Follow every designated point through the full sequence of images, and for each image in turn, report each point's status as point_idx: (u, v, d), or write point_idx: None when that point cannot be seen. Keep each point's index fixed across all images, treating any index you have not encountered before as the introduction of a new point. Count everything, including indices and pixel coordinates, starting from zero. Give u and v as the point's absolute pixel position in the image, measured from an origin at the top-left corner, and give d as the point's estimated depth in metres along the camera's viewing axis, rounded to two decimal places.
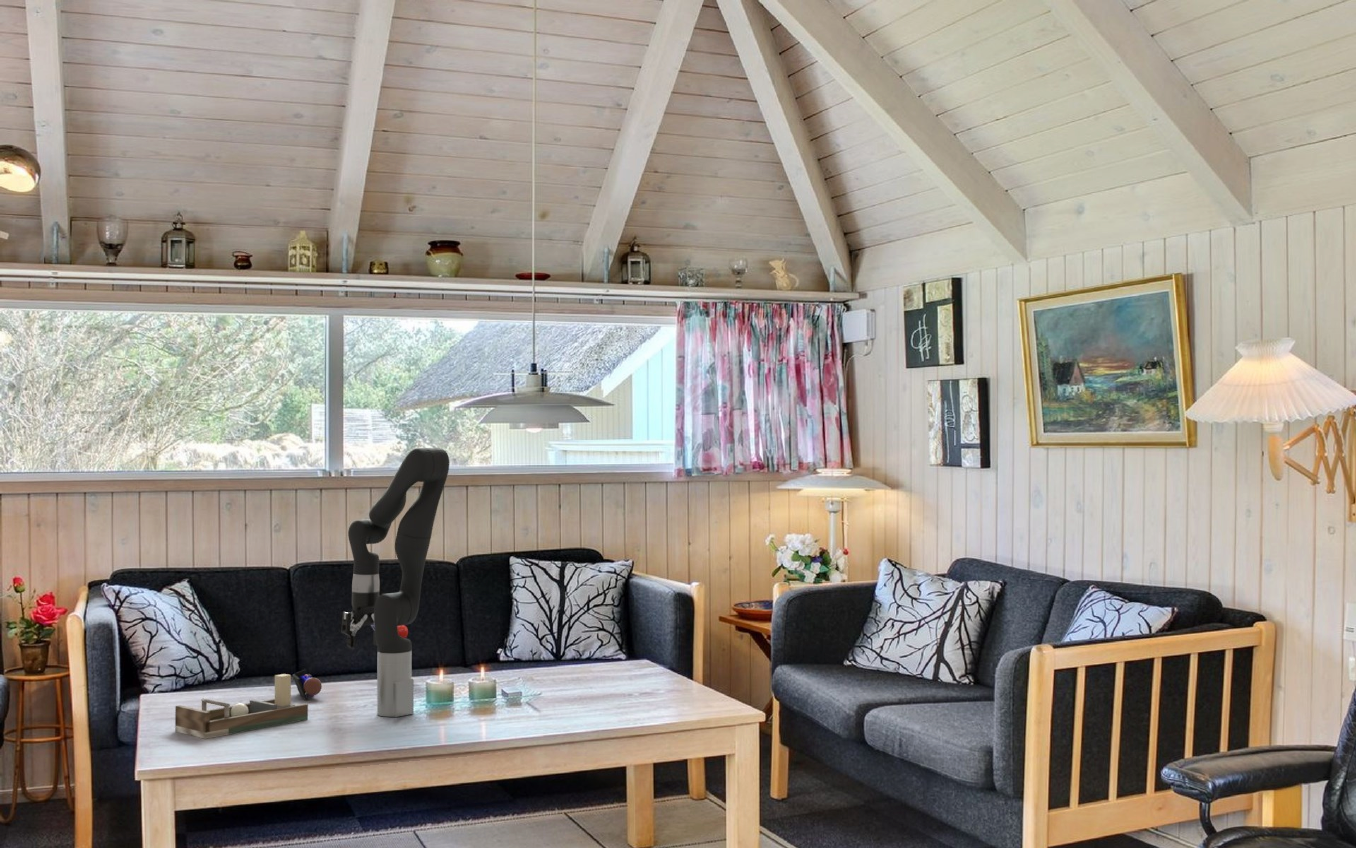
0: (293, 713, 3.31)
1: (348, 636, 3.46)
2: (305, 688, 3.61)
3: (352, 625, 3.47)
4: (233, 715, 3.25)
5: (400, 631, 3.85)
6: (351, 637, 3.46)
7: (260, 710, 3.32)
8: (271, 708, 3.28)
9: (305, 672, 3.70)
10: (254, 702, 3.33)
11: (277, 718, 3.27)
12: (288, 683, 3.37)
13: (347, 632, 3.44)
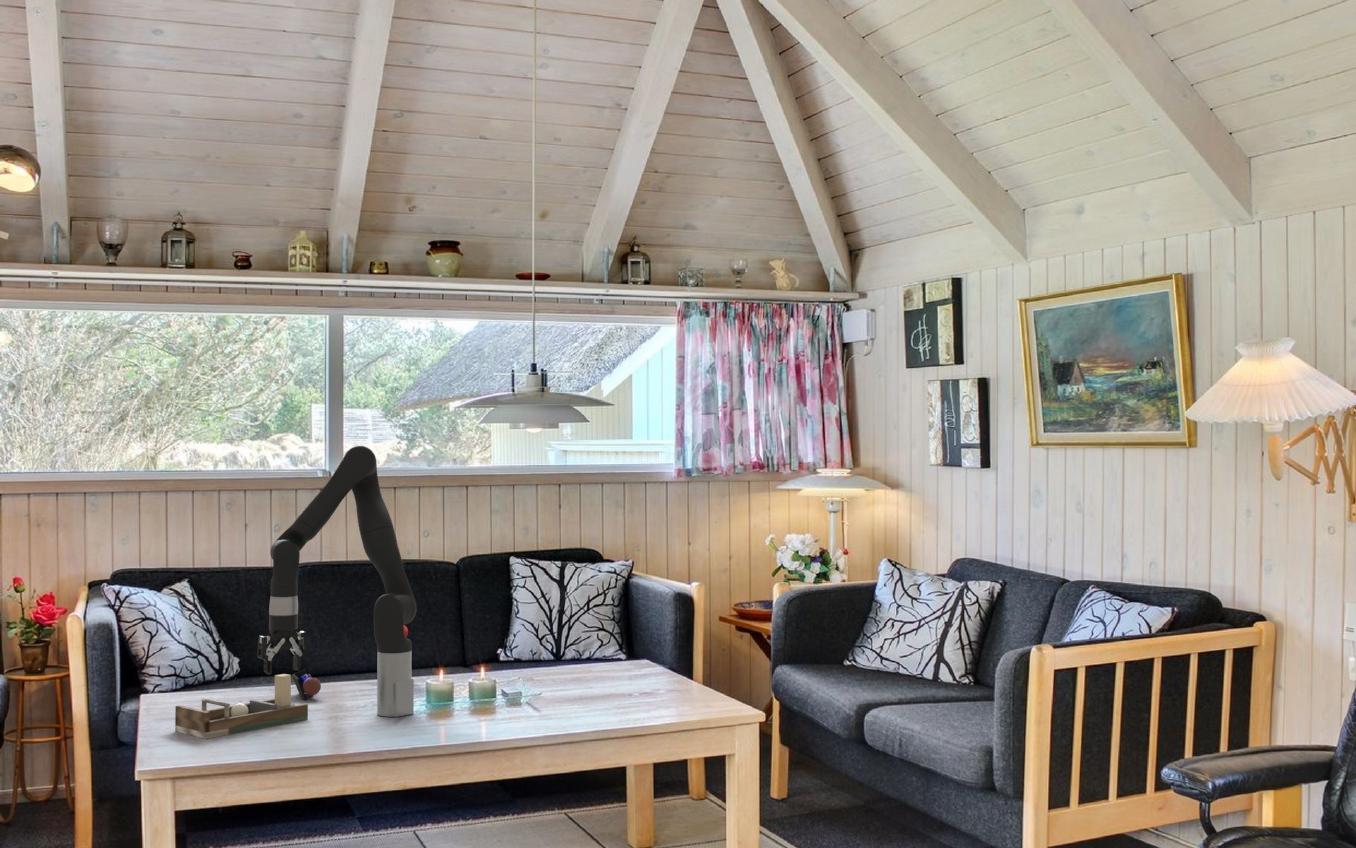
0: (293, 713, 3.31)
1: (264, 661, 3.33)
2: (304, 688, 3.61)
3: (269, 649, 3.35)
4: (233, 715, 3.25)
5: None
6: (267, 662, 3.33)
7: (260, 710, 3.32)
8: (271, 708, 3.28)
9: (305, 672, 3.71)
10: (254, 702, 3.33)
11: (277, 718, 3.27)
12: (288, 683, 3.37)
13: (263, 657, 3.32)
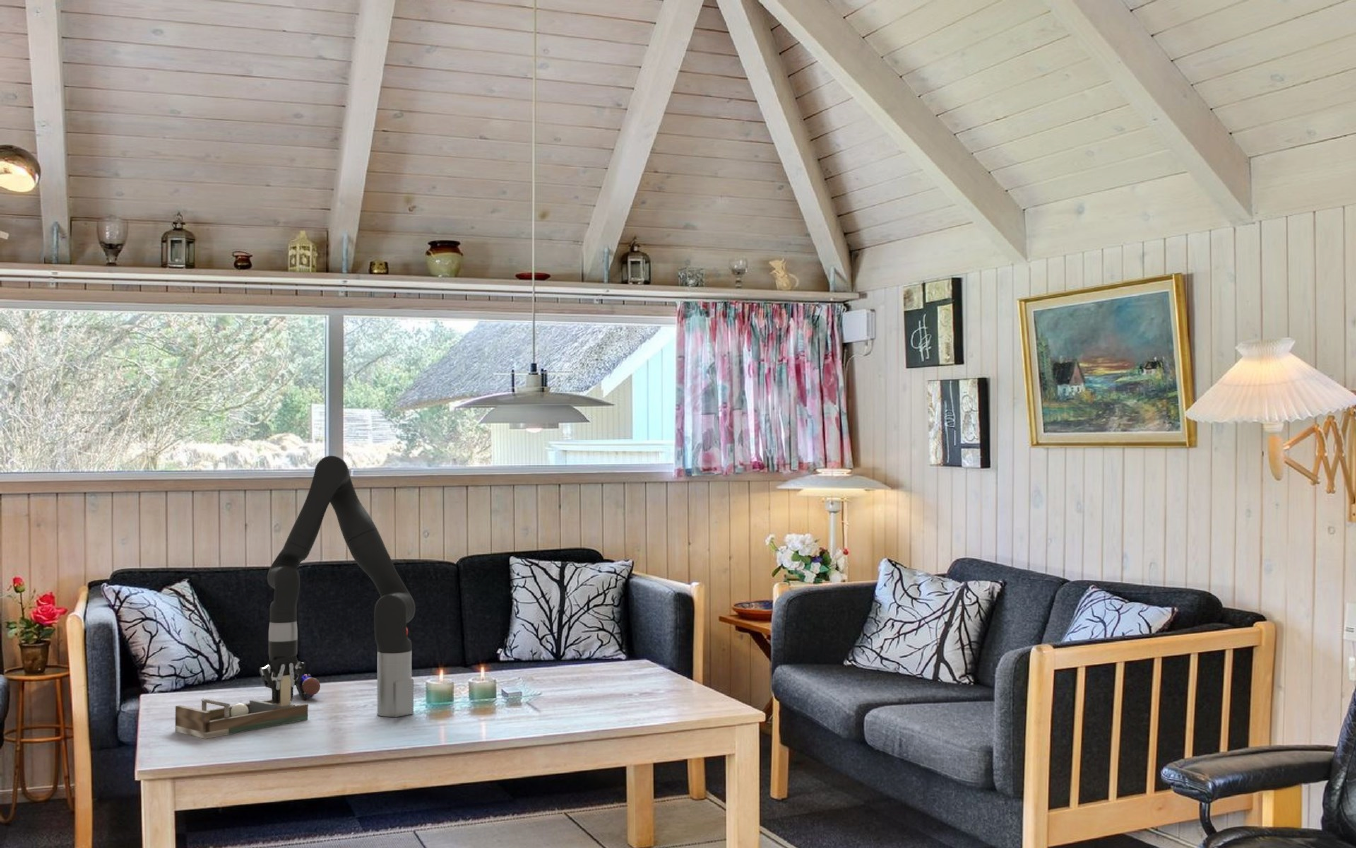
0: (293, 713, 3.31)
1: (272, 690, 3.35)
2: (303, 688, 3.61)
3: (273, 678, 3.35)
4: (233, 715, 3.25)
5: None
6: (276, 691, 3.34)
7: (260, 710, 3.32)
8: (271, 708, 3.28)
9: (304, 672, 3.71)
10: (254, 702, 3.33)
11: (277, 718, 3.27)
12: (288, 683, 3.36)
13: (271, 686, 3.33)
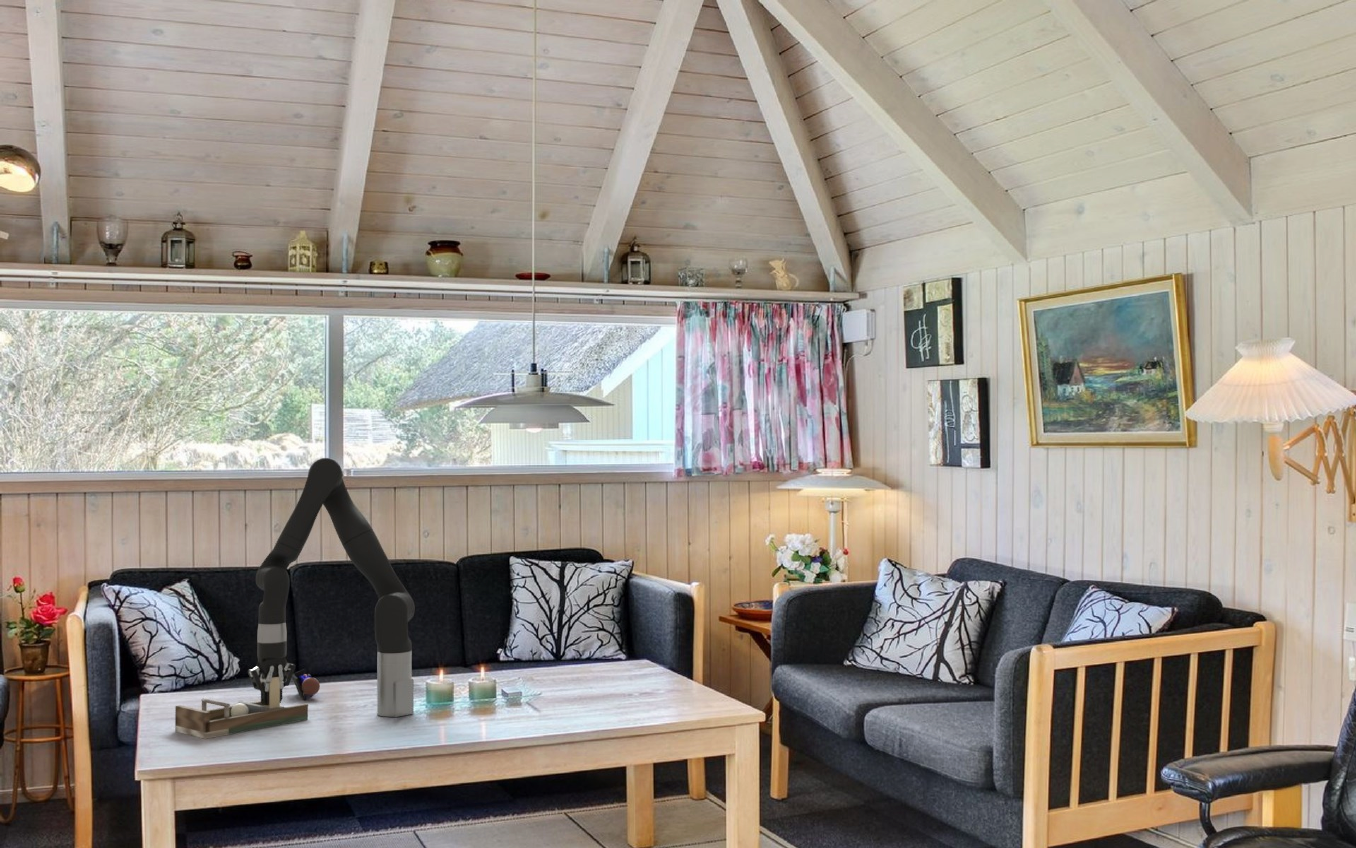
0: (293, 713, 3.31)
1: (261, 692, 3.32)
2: (303, 688, 3.61)
3: (262, 680, 3.32)
4: (233, 715, 3.25)
5: None
6: (264, 693, 3.32)
7: (249, 712, 3.29)
8: (260, 710, 3.26)
9: (304, 672, 3.71)
10: None
11: (277, 718, 3.27)
12: (277, 684, 3.34)
13: (260, 688, 3.30)
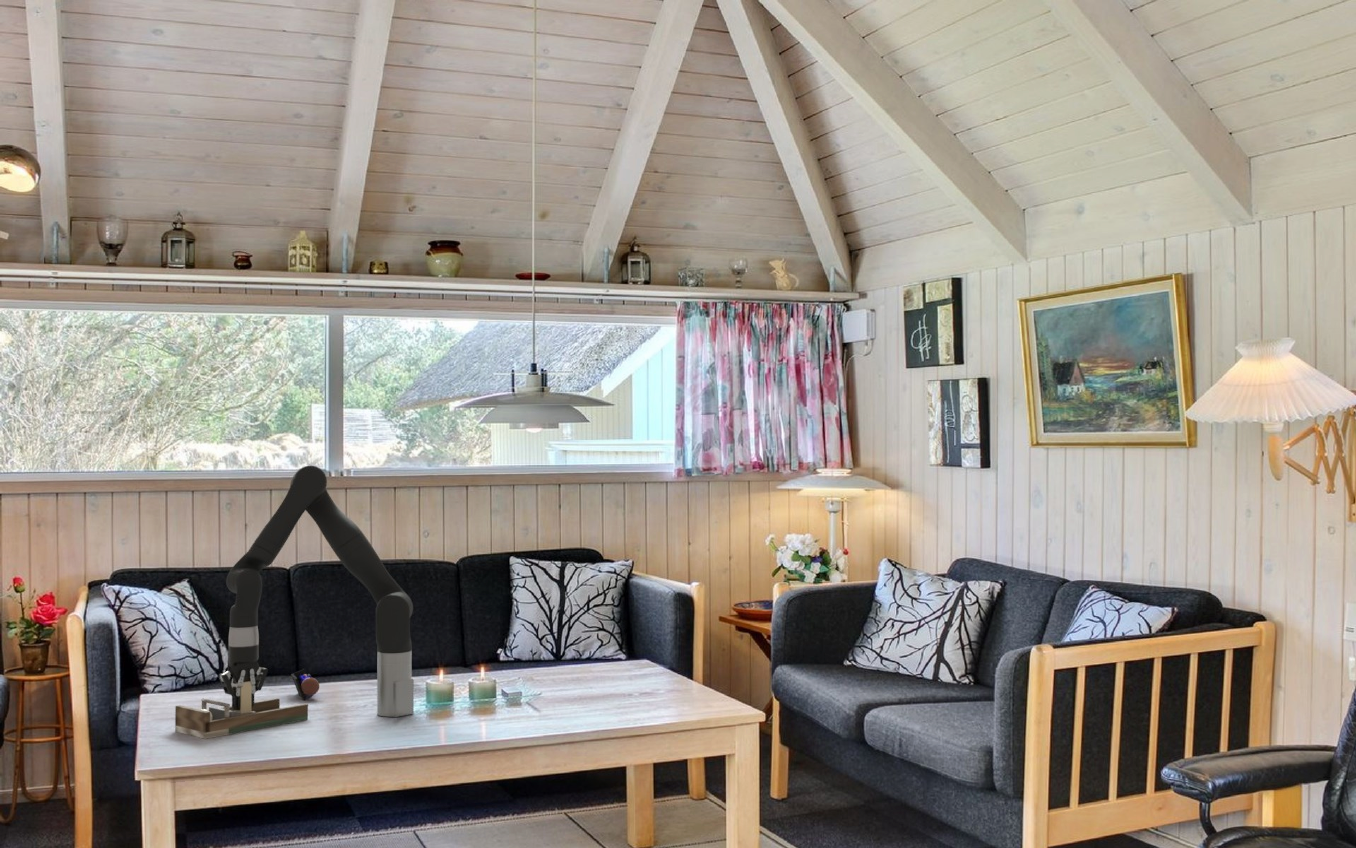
0: (293, 713, 3.31)
1: (233, 697, 3.25)
2: (302, 688, 3.61)
3: (234, 685, 3.26)
4: None
5: None
6: (236, 698, 3.25)
7: (219, 717, 3.22)
8: (230, 715, 3.19)
9: (304, 672, 3.71)
10: (213, 709, 3.24)
11: (277, 718, 3.27)
12: (249, 689, 3.27)
13: (231, 693, 3.23)
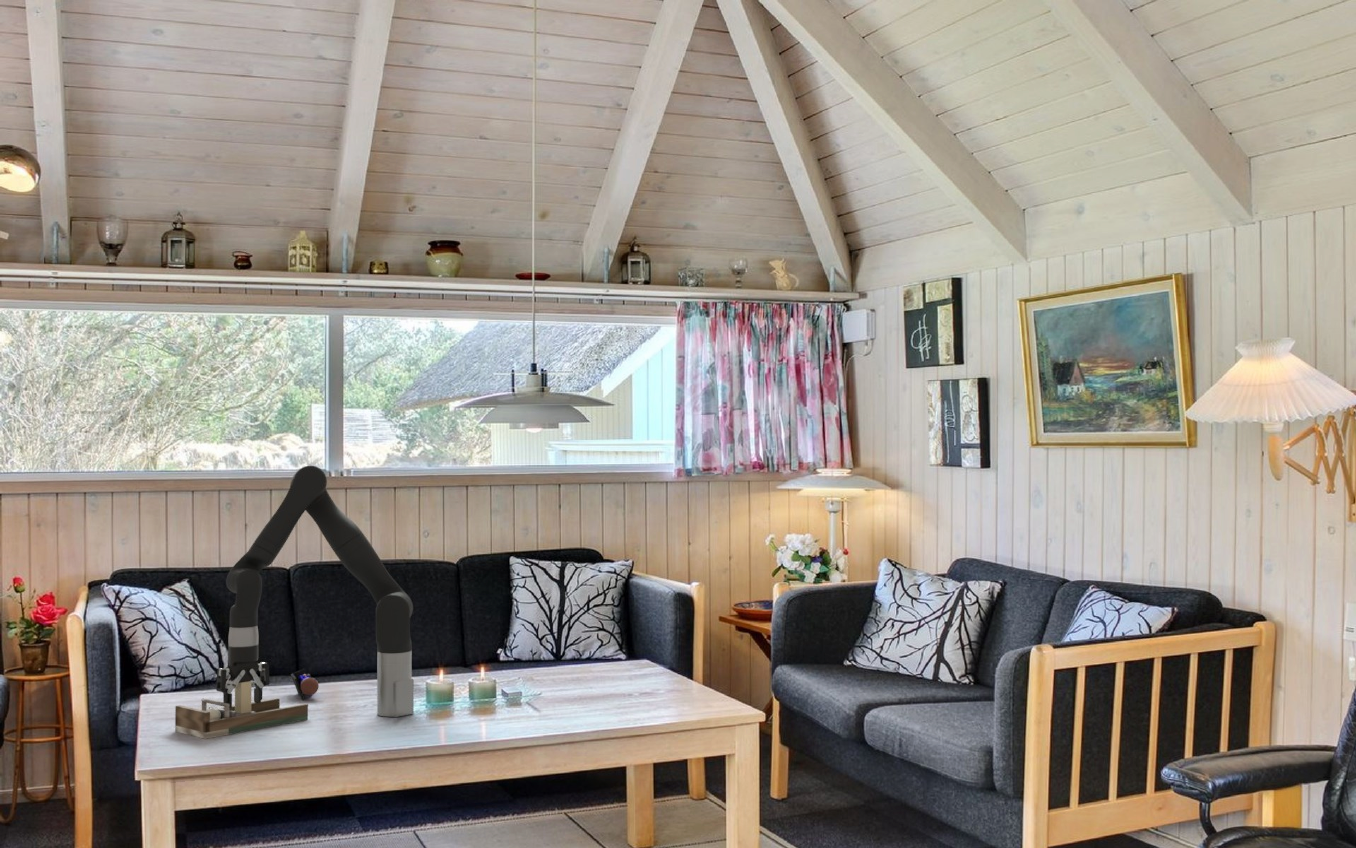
0: (293, 713, 3.31)
1: (224, 694, 3.23)
2: (302, 688, 3.61)
3: (228, 682, 3.25)
4: (218, 710, 3.21)
5: None
6: (227, 695, 3.23)
7: None
8: (230, 715, 3.19)
9: (304, 672, 3.71)
10: None
11: (277, 718, 3.27)
12: (249, 689, 3.27)
13: (222, 690, 3.21)
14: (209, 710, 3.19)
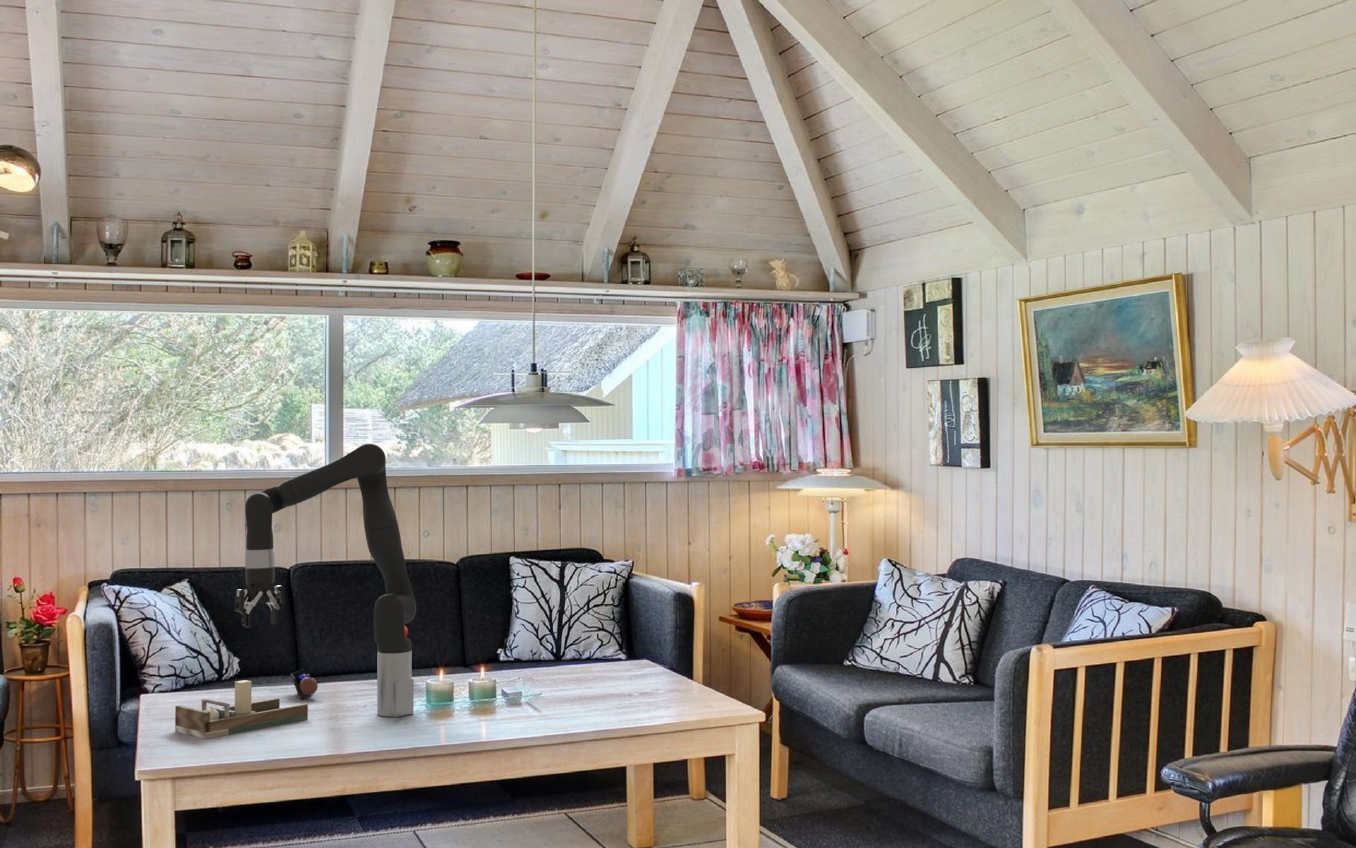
0: (293, 713, 3.31)
1: (242, 614, 3.32)
2: (301, 688, 3.62)
3: (246, 603, 3.34)
4: (215, 709, 3.21)
5: None
6: (245, 615, 3.32)
7: (219, 717, 3.22)
8: (230, 715, 3.19)
9: (303, 672, 3.71)
10: None
11: (277, 718, 3.27)
12: (249, 689, 3.27)
13: (241, 610, 3.30)
14: None
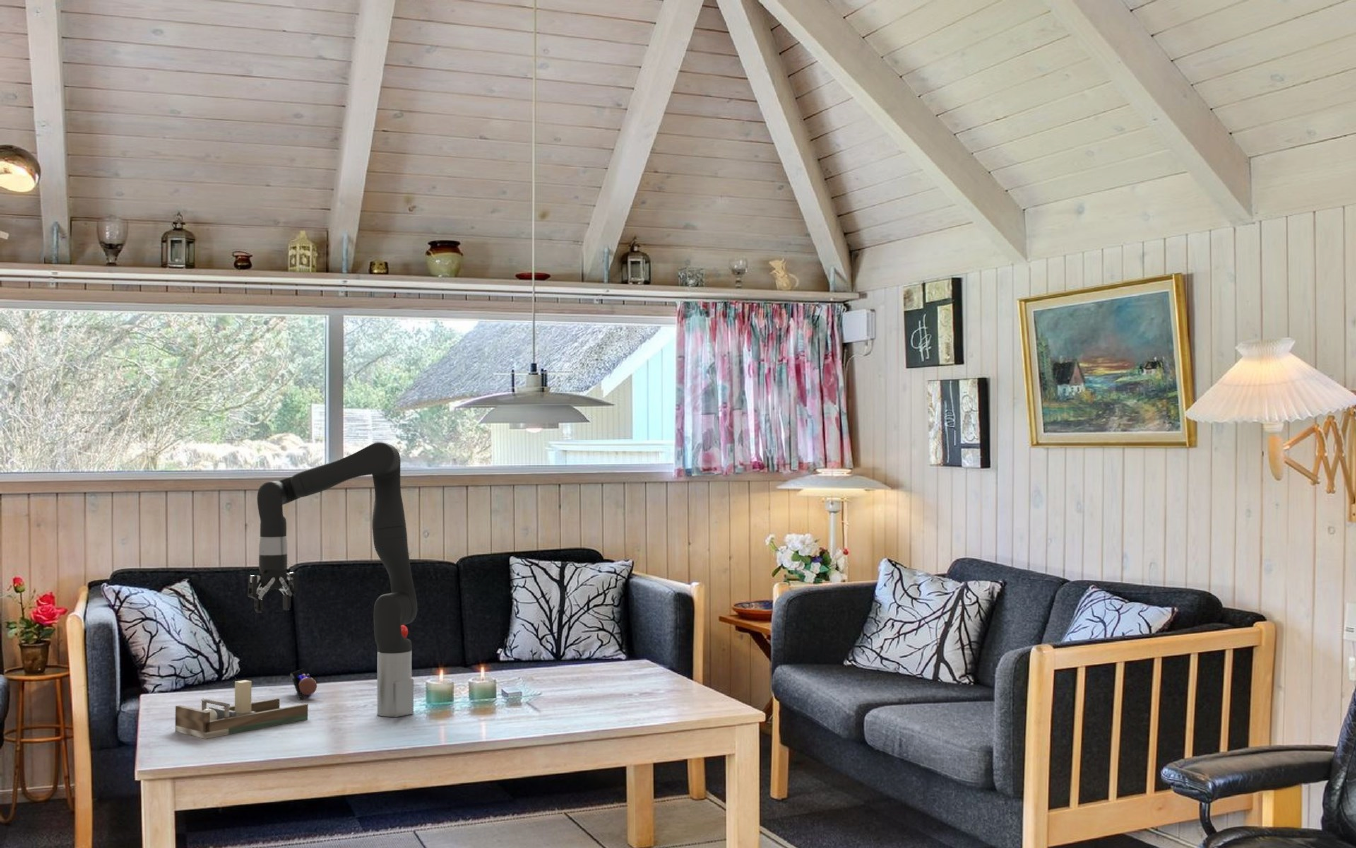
0: (293, 713, 3.31)
1: (255, 600, 3.40)
2: (300, 688, 3.62)
3: (259, 589, 3.41)
4: (212, 709, 3.20)
5: None
6: (258, 601, 3.40)
7: (219, 717, 3.22)
8: (230, 715, 3.19)
9: (303, 671, 3.72)
10: (213, 709, 3.24)
11: (277, 718, 3.27)
12: (249, 689, 3.27)
13: (253, 595, 3.38)
14: None
